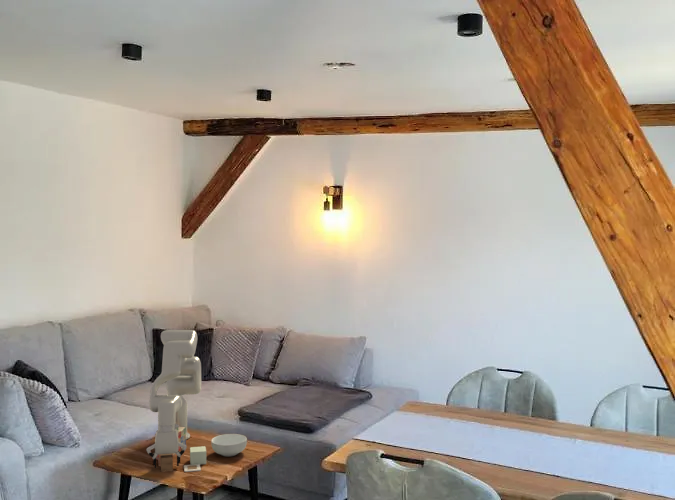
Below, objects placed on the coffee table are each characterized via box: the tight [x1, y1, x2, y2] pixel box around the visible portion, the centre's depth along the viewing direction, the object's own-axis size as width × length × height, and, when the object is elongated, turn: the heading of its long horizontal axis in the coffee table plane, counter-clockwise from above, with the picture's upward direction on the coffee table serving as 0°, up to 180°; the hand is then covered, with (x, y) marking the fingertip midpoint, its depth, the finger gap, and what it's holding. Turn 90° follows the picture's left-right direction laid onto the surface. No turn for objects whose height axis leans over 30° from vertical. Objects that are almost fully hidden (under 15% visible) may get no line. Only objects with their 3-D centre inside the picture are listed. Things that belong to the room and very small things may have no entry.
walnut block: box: [160, 454, 174, 473], centre depth 292 cm, size 5×5×6 cm
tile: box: [183, 464, 202, 473], centre depth 293 cm, size 7×7×1 cm
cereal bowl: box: [210, 433, 248, 457], centre depth 313 cm, size 17×17×7 cm
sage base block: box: [189, 445, 207, 465], centre depth 302 cm, size 7×7×6 cm
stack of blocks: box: [154, 427, 187, 460], centre depth 314 cm, size 21×6×12 cm, turn 170°
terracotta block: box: [157, 454, 161, 467], centre depth 299 cm, size 5×5×6 cm
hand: (166, 465), depth 292 cm, fingers open, 9 cm apart
